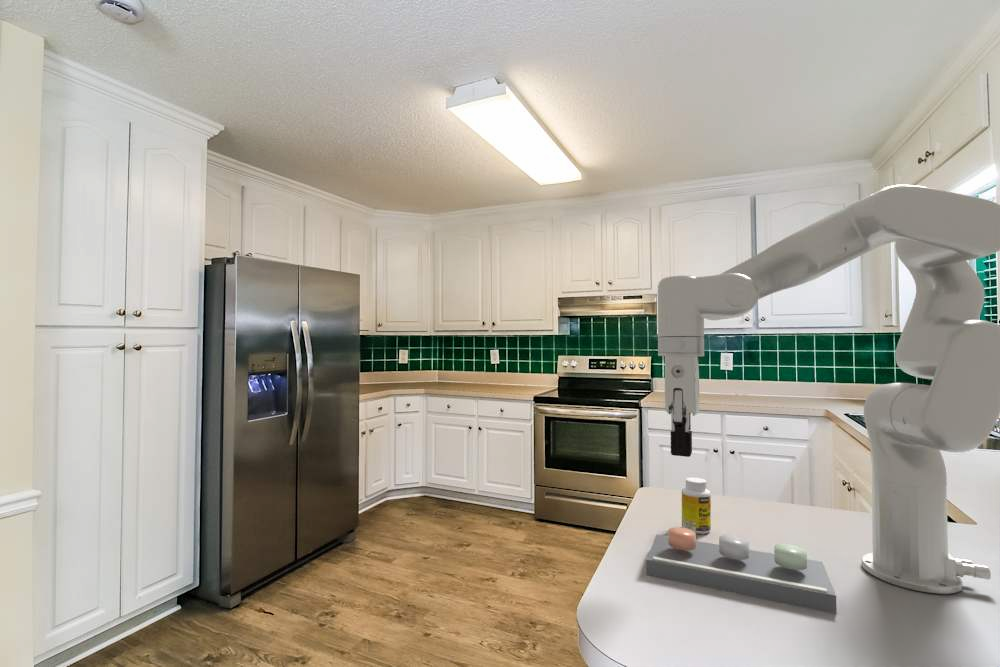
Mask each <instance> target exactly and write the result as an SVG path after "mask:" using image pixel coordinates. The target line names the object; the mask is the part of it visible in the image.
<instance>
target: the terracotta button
mask: <svg viewBox="0 0 1000 667" xmlns="http://www.w3.org/2000/svg"><path fill="white" fill-rule="evenodd" d="M667 534H668V535H667V536H668V544H669V545H670V546H671V547H673V548H675V549H679V550H694V549H695V548H696V541H697V536H696V535H697V534H696V533H695V532H694V531H692V530H690V529H687V528H683V527H682V526H681V527H680V526H678V527H677V526H676V527H675V526H674V527H670V528H668V532H667Z"/></svg>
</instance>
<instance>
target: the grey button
mask: <svg viewBox="0 0 1000 667" xmlns="http://www.w3.org/2000/svg"><path fill="white" fill-rule="evenodd" d="M718 545H719V553H720V554H721V555H723V556H725V557H727V558H731V559H736V560H745V559H748V558H749V550H750V543H749V541H748V539H745V538H743V537H741V536H738V535H730V534H724V535H720V536H719V537H718Z"/></svg>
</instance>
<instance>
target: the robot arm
mask: <svg viewBox="0 0 1000 667" xmlns="http://www.w3.org/2000/svg"><path fill="white" fill-rule="evenodd" d="M894 242H895V243H894ZM890 243H894V245H895V252H896V254H897V257H898V258H899V260H900V262H901V263H902V264H903V266H904V267H906V269H907V270H908V271H909V273H910V275H911V276H912V278H913V281H914V285H915V297H914V299H913V303H912V306H911V309H910V311H909V314H908V316H907V319H906V322H905V325H904V327H903V330H902V332H901V335H900V337H899V339H898V342H897V345H896V349H895V353H894V358H895V362H896V365H897V367H899V369H900V370H901V371H902V372H904V373H906V374H907V375H910V376H913V377H914V378H920V379H925V380H931V384H930V385H929V384H920V383H912V382H892V383H885V384H882V385H880V386H878V387H876V388H875V389H873V390H872V391H871V392H870V393H869V395H867V397H866V399H865V402H864V405H863V418H864V423H865V427H866V428H865V430H866V431H867V436H868V443H869V448H870V460H871V462H870V463H871V464H870V465H871V466H870V467H871V476H870V477H871V478H870V479H871V481H870V482H871V520H872V521H871V524H872V552H869V553H866V554H864V555H862V557H861V566H862V567H863V569H865V571H866V572H867V573H869V574H870V575H872V576H873V577H876V578H877V579H880V580H881V581H883V582H887V583H889V584H892V585H895V586H898V587H901V588H905V589H907V590H913V591H918V592H923V593H929V594H939V595H950V594H955V593H959V592H961V591H962V590H963V580H962V578H964V576H968V577H969V576H970V577H972V578H977V579H983V580H988V581H990V580H991V577H992V576H991V574H992V573H991V570H990V568H989V567H988V566H987V565H982V564H981V565H980V564H975V563H972V560H971V559H965V558H954V557H953V556H952V554H950V553H949V540H948V535H949V534H948V495H947V494H948V492H947V490H948V489H947V485H948V482H947V481H948V478H947V476H948V475H947V469H946V464H945V461H944V457H943V454H942V453H941V451H943V452H947V453H948V452H949V453H965V452H971V451H972V450H975V449H977V448H979V447H980V446H982V444H984V443H985V442H986V441H987V439H988V438H989V436H990V435H991V433H993V430H994V428H995V425H996V423H997V422H998V421H997V420H998V419H999V416H1000V324H998V323H995V322H991V321H988V320H983V319H980V317H981V313H982V310H983V306H984V303H985V296H986V294H985V289H984V288H985V287H984V285H983V282H982V281H981V279H980V278H979V275H977V273H976V271H975V270H974V268H973V267H972V266H971V265H970V264H969V262H968V261H972V260H976V259H980V258H985V257H988V256H991V255H993V254H996V253H998V252H999V251H1000V204H998V203H997V202H994V201H993V200H989V199H985V198H981V197H978V196H977V197H976V196H972V195H971V196H970V195H967V194H961V193H957V192H951V191H947V190H941V189H938V188H932V187H926V186H921V185H912V184H896V185H891V186H887V187H883V189H880V190H878V191H876V192H874V193H872V194H869V195H868V196H865V197H862V198H860V199H859V200H856V201H854V202H852V203H850V204H848V205H846V206H844V207H842V208H840V209H839V210H836V211H835V212H832V213H830V214H828V215H827V216H825V217H823V218H821V219H819V220H817V221H816V222H813V223H812V224H810V225H807V226H806V227H804V228H802V229H800V230H798V231H796V232H794V233H792V234H790V235H788V236H786V237H784V238H783V239H780V240H779V241H778V242H777V241H776V242H775V243H773V244H772V245H771V246H768V247H766V249H765V250H763V251H760V252H759V253H757V254H755V255H754V256H752V257H750V258H748V259H746V260H744V261H742V262H741V263H739V264H736V265H735V266H733V267H731V268H729V269H727V270H725V271H724V272H721V273H720V274H714V275H706V276H705V275H704V276H695V275H672V276H666V277H664V278H662V279H661V280H660V281H658V285H657V352H658V353H657V356H658V357H664V403H665V405H664V407H665V412H666V413H667V414H668V415H670V417H671V421H670V422H671V430H670V455H671V456H675V457H676V456H678V457H688V458H689V457H691V455H692V454H693V453H692V452H693V433H692V432H693V431H692V430H691V429H692V428H691V427H692V425H691V421H692V419H691V418H692V416H693V417H695V416H696V415H697V414H699V412H700V409H701V405H700V404H701V403H700V370H699V368H700V367H699V358H698V357H705V320H708V321H720V320H727V319H735V318H739V317H742V316H744V315H747V314H748V313H750V311H752V310H753V309H754V308H755V306H756V304H757V303H758V301H759V300H761V299H763V298H765V297H767V296H770V295H772V294H775V293H778V292H781V291H783V290H788V289H791V288H795V287H799V286H801V285H804V284H807V283H808V282H811V281H814V280H816V279H818V278H820V277H823V275H826V274H827V273H831V271H833V270H836V269H837V268H839V267H841V266H843V265H845V264H847V263H849V262H851V261H853V260H855V259H857V258H859V257H861V256H863V255H865V254H867V253H868V252H871V251H873V250H875V249H877V248H879V247H881V246H885V245H887V244H890ZM691 413H692V414H691Z"/></svg>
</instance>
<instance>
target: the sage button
mask: <svg viewBox="0 0 1000 667" xmlns="http://www.w3.org/2000/svg"><path fill="white" fill-rule="evenodd" d="M773 548H774V552H773V554H774V561H775V563H776V564H778V565H780V566H782V567H784V568H788V569H792V570H805V569H806V568H807V559H808V551H807V550H806V549H804V548H803V547H801V546H797V545H793V544H788V543H776V544H775V545H773Z"/></svg>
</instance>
